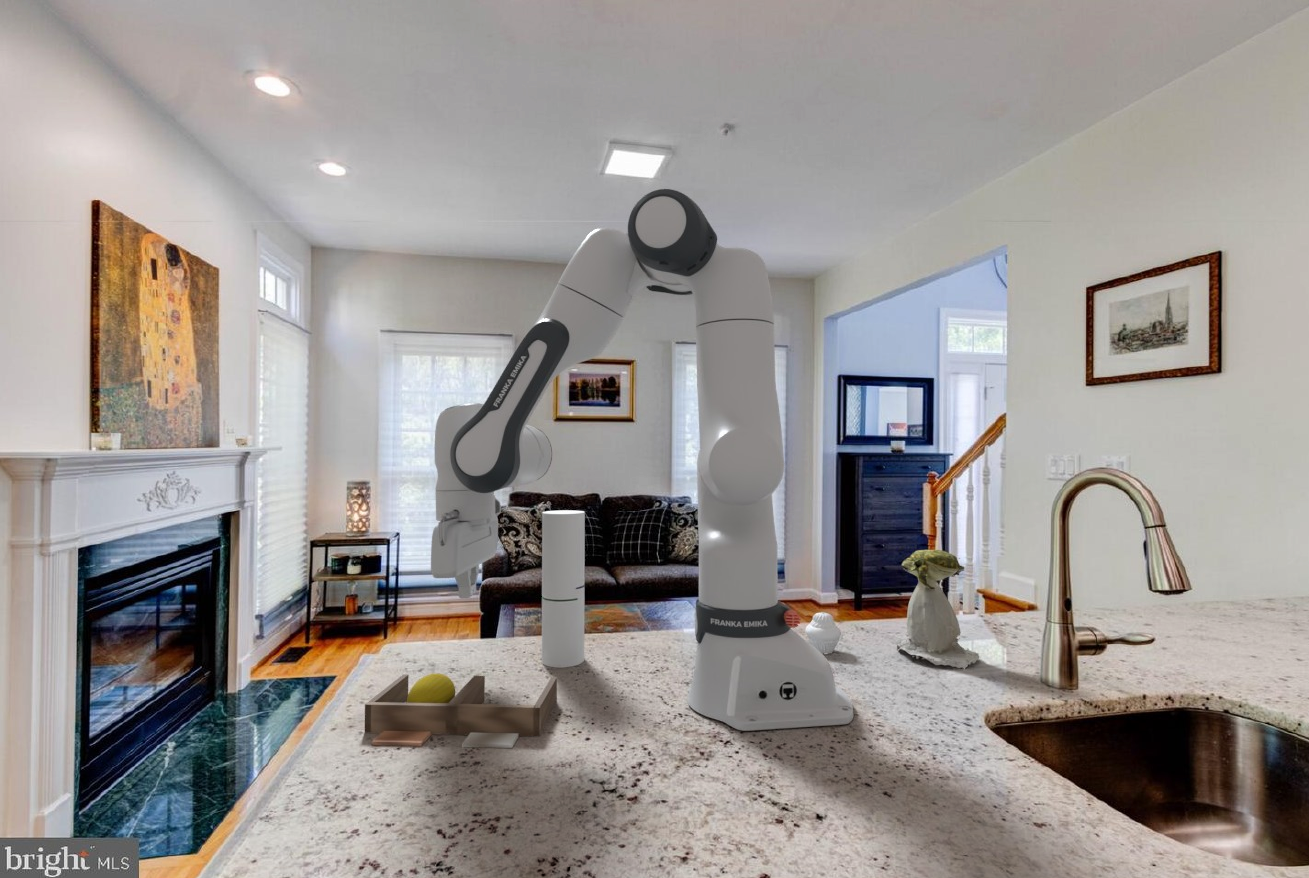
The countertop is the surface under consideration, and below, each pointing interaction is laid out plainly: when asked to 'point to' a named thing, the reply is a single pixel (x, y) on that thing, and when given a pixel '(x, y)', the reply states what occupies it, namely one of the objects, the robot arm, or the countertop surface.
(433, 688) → the lemon
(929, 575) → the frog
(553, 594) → the cylindrical container
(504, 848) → the countertop surface
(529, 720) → the bay rack
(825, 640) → the muffin
